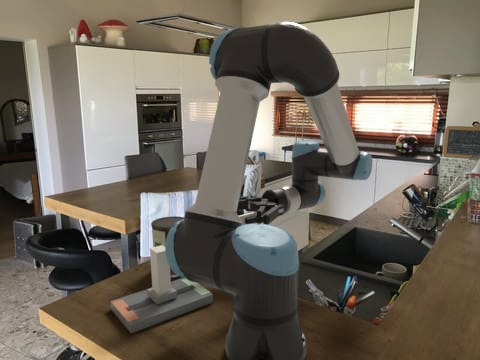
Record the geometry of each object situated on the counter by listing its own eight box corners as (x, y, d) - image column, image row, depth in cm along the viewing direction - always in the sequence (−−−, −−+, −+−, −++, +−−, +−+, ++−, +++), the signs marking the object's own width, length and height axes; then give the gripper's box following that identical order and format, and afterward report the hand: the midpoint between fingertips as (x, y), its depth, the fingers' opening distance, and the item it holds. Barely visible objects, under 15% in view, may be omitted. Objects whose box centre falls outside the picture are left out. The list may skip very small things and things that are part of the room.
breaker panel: (213, 302, 91) (213, 294, 91) (131, 333, 80) (130, 324, 79) (187, 283, 101) (187, 276, 100) (110, 309, 89) (110, 300, 88)
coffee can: (196, 263, 113) (194, 216, 110) (184, 279, 103) (182, 228, 100) (162, 261, 115) (160, 215, 112) (148, 276, 105) (144, 226, 102)
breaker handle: (177, 297, 89) (174, 249, 87) (156, 304, 86) (153, 255, 84) (167, 289, 93) (164, 243, 91) (147, 295, 90) (144, 248, 88)
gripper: (313, 225, 99) (248, 245, 87) (252, 204, 119) (191, 219, 106) (314, 196, 98) (247, 213, 85) (251, 180, 117) (190, 192, 105)
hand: (216, 216), depth 96 cm, fingers open, 13 cm apart
